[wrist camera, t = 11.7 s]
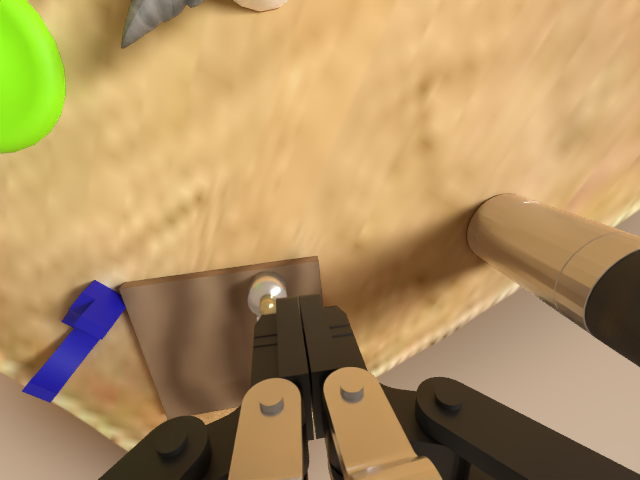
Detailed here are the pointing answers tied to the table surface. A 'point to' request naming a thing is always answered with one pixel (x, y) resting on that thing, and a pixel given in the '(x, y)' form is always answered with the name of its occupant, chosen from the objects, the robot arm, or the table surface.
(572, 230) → the robot arm
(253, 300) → the link
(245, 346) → the board
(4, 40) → the wineglass
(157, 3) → the inkwell
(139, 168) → the table surface
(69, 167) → the table surface
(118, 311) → the cable clip
